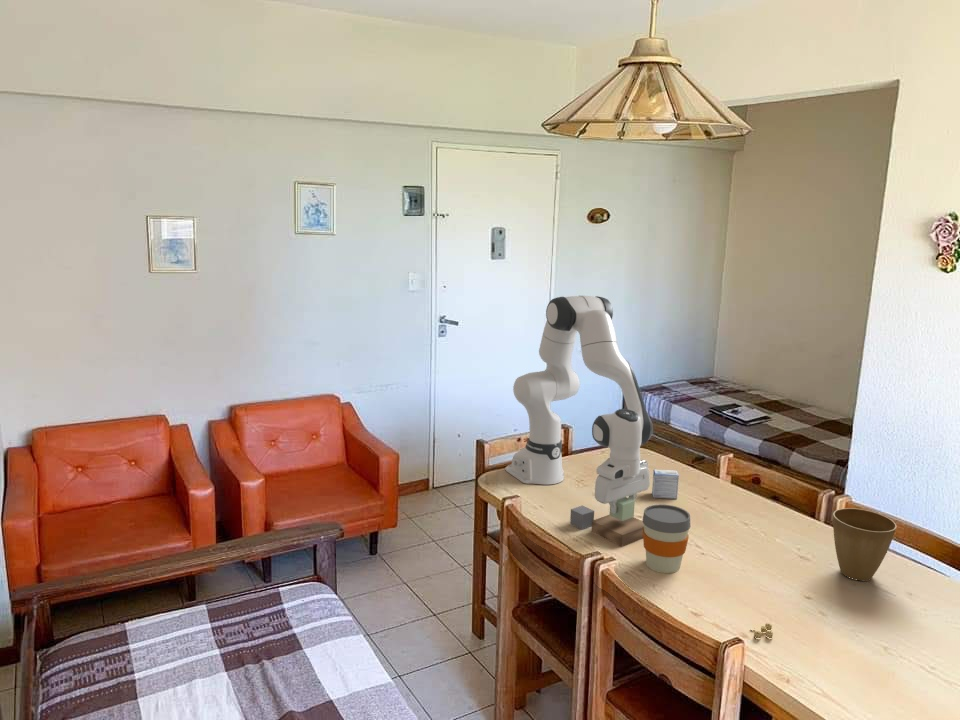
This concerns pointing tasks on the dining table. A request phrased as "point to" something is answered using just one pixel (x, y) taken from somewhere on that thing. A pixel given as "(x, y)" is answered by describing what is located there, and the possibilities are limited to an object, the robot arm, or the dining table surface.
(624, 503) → the sage block
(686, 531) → the reusable coffee cup
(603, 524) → the walnut plinth
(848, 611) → the dining table surface
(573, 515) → the charcoal block
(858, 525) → the plant pot
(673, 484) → the medicine box
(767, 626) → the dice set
